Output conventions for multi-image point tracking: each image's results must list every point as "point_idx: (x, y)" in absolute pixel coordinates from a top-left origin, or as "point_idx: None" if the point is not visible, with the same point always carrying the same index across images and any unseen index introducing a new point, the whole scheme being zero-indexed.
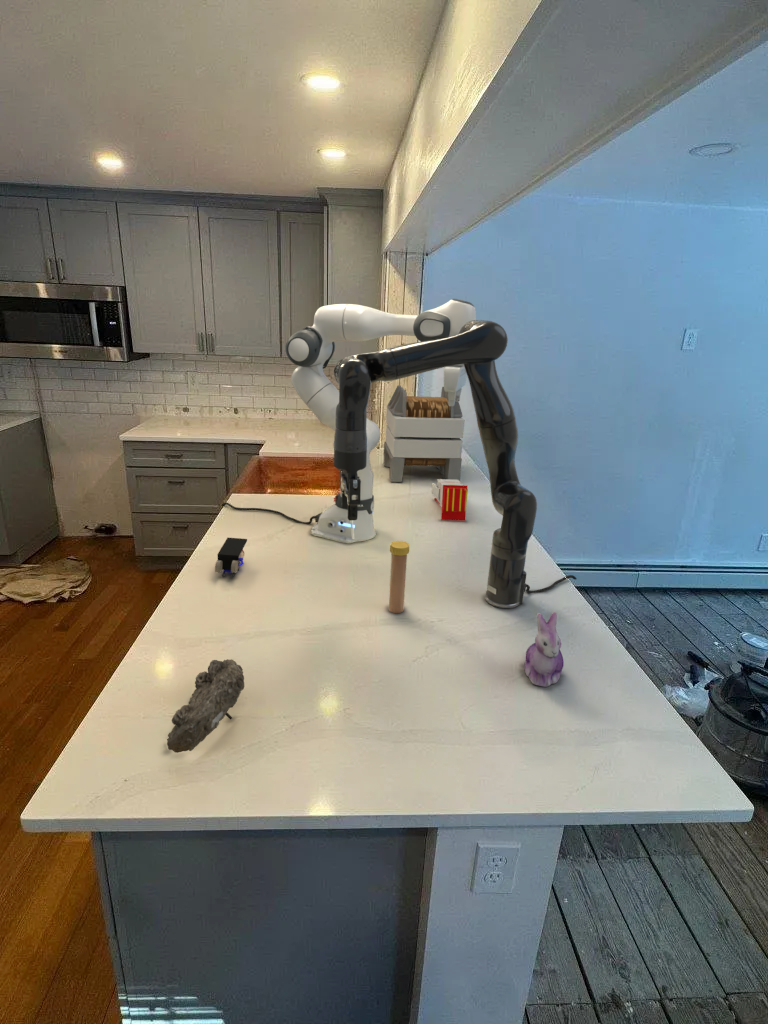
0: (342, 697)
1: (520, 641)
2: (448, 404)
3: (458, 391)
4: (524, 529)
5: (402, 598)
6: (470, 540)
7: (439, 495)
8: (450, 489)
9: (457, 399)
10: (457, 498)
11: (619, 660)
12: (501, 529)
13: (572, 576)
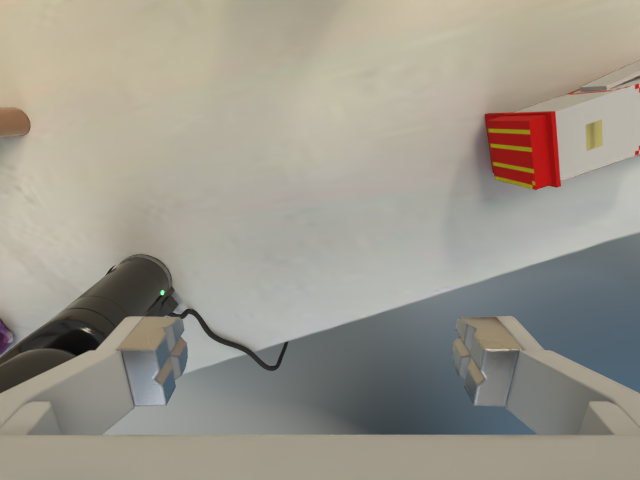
0: None
1: (46, 307)
2: (125, 320)
3: (570, 429)
4: None
5: None
6: (377, 199)
7: (589, 90)
8: (528, 139)
9: (463, 363)
10: (513, 159)
11: None
12: (10, 349)
13: (264, 368)
